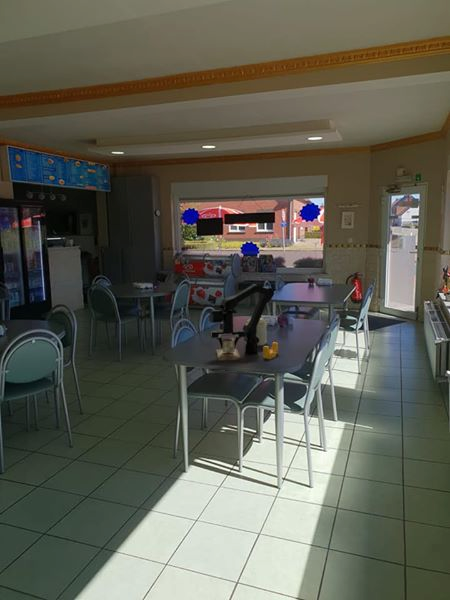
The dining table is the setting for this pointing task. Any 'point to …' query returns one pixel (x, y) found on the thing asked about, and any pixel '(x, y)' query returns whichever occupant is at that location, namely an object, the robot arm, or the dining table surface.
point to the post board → (228, 355)
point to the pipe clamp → (270, 351)
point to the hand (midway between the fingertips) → (228, 348)
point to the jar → (261, 331)
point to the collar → (228, 345)
